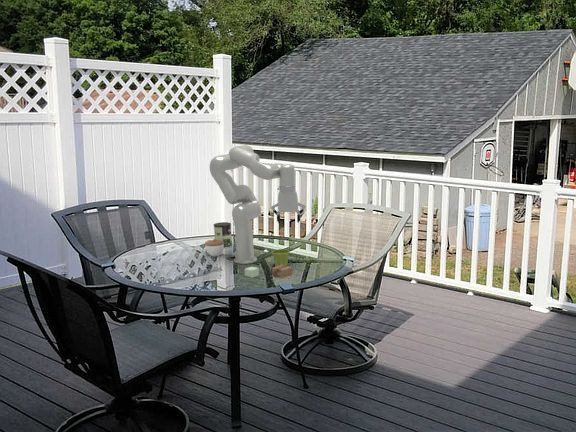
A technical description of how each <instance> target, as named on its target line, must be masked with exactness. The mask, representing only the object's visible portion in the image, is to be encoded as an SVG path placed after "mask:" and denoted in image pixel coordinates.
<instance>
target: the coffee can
mask: <svg viewBox="0 0 576 432" xmlns="http://www.w3.org/2000/svg"><path fill="white" fill-rule="evenodd" d="M213 229H214V239H215V240H223V241H224V248H226V249H229V248H228V247H230V248H232V247H233V240H232V239H233V238H232V223H231V222H227V221H226V222H224V221H223V222H216V223H214V224H213ZM231 246H232V247H231Z"/></svg>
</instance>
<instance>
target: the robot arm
mask: <svg viewBox="0 0 576 432" xmlns="http://www.w3.org/2000/svg"><path fill="white" fill-rule="evenodd" d="M228 151H229V152H228V154H220V155H217V156H214V157H212V159H211V160H210V162H209V172H210V175H211V177H212V178H213V179H214V182H215V183H216V185H218V187H219V189H220V191H221V193H222V195H223V196H224V198H225V200H226V201H227V203H228V204H230V205H235V204H236V205H235V206H234V207H233V208H232V211H231V214H232V220H233V225H234V234H235V238H234V239H235V251H234V252H233V253H232V256H234V257H235V258H233V262H234V263H235V264H239V265H241V264H242V265H245V264H246V265H248V264H252V263H256V262H257V261H258V258H257V257H256V256H255V249H254V232H253V231H254V230H253V226H252V223H251V220H253V219H257V218H259V217H260V215H261V214H262V206H261V204H260V203H259V201H258V199H257V197H256V195H255V194H254V192H253V191H252V189H251V187H249V186H248V185H246V184H237V183H236V182H235V181H234V179H233V177H232V176H231V175H230V174H229V173H228V172H226V171H231V170H235V169H238V168H240V167H242V166H243V167H244V168H247V169H249V170H250V172H251V174H252V175H254V176H255V177H258V178H259V179H263V180H267V181H269V180H274V179H275V180H276V179H279V186H277V187H276V189H277V191H279V192H278V194H277V195H278V197H277V203H276V204H274V205H272V206H271V207H270V209H271V210H272V212H273V213H274V214H275V215H276V221H277V222H278V223H277V224H280V223H281V214H280V213H296V214H297V215H296V219H297V220H296V221H297V222H296V223H297V224H299V223H300V222H301V214H302V213H303V212H304V211H305V209H306V205H304V204H302V203H300V202H299V199H298V194H297V191H296V180H295V179H296V177H295V176H296V174H295V173H296V172H295V166H294V164H292V163H288V164H284V163H279V162H278V163H269V164H264V163H262V162H261V161H260V156H259V154H257V153H256V152H254V149H253V147H252V146H250V145H247V144H243V145H236V146H233V147H232V148H230V149H229V150H228ZM299 207H300V208H301V209H300V210H299ZM275 208H277V210H276V209H275Z"/></svg>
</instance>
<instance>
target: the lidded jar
mask: <svg viewBox="0 0 576 432" xmlns="http://www.w3.org/2000/svg"><path fill="white" fill-rule="evenodd" d="M204 244H205V245H204V246H205V251H206V253H207V254H208V255H209V256H210V257H219V255H220V256H221V255H222V254H223V252H224V241H223V240H215V238H213V239H210V240H207V241H205V242H204Z"/></svg>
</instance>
